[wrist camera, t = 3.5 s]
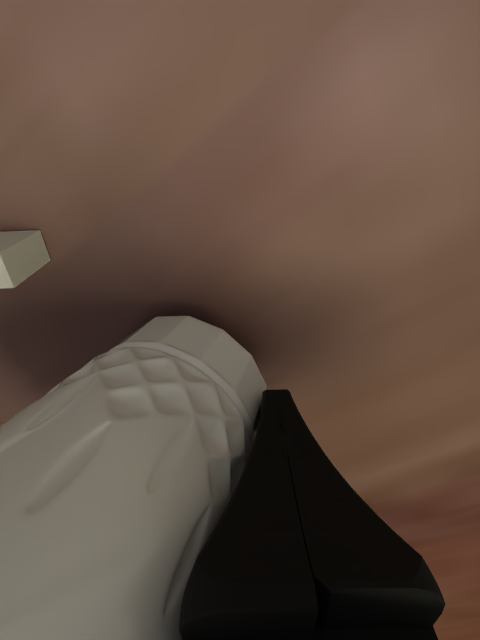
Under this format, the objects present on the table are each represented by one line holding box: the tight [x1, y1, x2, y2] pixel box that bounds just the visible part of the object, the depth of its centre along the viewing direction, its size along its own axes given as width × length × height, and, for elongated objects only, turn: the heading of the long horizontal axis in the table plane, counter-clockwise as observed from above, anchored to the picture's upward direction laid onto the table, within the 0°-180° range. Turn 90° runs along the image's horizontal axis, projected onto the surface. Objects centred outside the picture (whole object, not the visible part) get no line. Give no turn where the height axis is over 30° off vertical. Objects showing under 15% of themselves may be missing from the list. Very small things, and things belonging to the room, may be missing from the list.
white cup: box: [0, 316, 267, 640], centre depth 11 cm, size 8×8×10 cm
